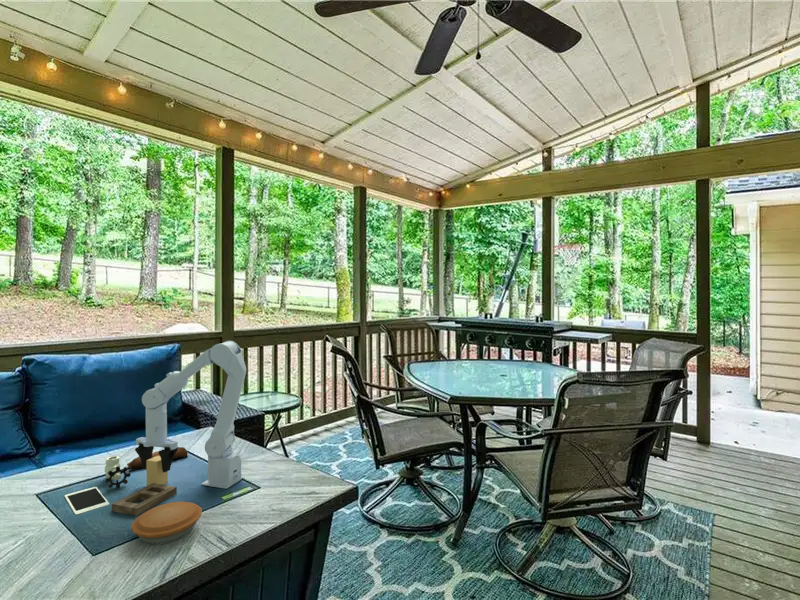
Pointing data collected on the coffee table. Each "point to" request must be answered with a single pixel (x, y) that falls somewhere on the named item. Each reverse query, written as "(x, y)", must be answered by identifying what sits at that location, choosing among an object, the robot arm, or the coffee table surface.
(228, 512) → the coffee table surface
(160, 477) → the square peg
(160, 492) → the socket block
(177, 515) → the pie
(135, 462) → the sunglasses case
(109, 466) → the valve
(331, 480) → the coffee table surface
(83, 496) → the cell phone
